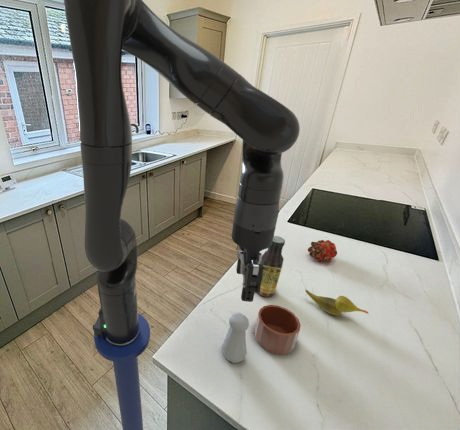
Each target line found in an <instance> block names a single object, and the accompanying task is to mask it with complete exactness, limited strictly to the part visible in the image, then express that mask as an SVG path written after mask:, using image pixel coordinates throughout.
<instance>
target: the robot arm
mask: <svg viewBox="0 0 460 430" xmlns="http://www.w3.org/2000/svg"><path fill="white" fill-rule="evenodd" d="M63 7H64V14H65V21H66V27H67V32H68V38H69V43H70V50H71V55H72V56H71V57H72V61H73V67H74V76H75V87H76V101H77V103H76V104H77V113H78V129H79V146H80V157H81V167H82V176H83V179H82V180H83V193H84V205H85V208H84V209H85V220H84V221H85V222H84V252H85V255H86V258H87V261H88V262H89V263H90V265H91V266H92V267H93V268H94V269H96V270H97V273H96V285H97V291H98V298H99V305H100V307H99V310H98V312H97V313H98V316H97V319H96V321H95V323H94V324H93V325H92V330H93V336H94V335H98V336H102V338H103V339H106V340H107V342H108V343H110V344H111V345H113V346H116V347H124V346H127V345H130V344H131V343H133V342H134V341H135V340H136V339H137V337H138V335H139V323H138V313H139V312H138V310H139V309H138V297H137V282H136V276H137V275H136V274H137V271H138V242H137V235H136V232H135V229H134V228H133V226H132V225H131V224H130V223H129V222H128V221H127V220H125V219H124V218H121V216H122V208H123V205H124V201H125V197H126V192H127V189H128V185H129V182H130V177H131V171H132V162H133V136H132V135H133V133H132V124H131V118H130V113H129V109H128V103H127V100H126V96H125V92H124V86H123V85H124V84H123V75H122V73H123V72H122V62H123V61H122V59H123V51H124V52H125V53H128V54H129V55H131V56H133V57H135V58H137V59H139V60H140V61H142V62H143V63H145V64H146V65H148V67H150V68H151V69H153V70H154V71H155V72H156V73H158V74H159V75H160V76H161V77H162V78H163V79H165V80H166V81H167V82H168V83H169V85H171V86H172V87H173V88H174V89H175V90H176V91H178V92H179V93H180V94H181V95H182V96H183V97H185V98H186V99H187V100H188V101H190V102H191V103H193V104H194V105H195V106H197V107H198V108H200V109H201V110H202V111H204V112H205V113H207V115H209V116H211V117H212V118H214V119H215V120H217V121H219V122H220V123H222V124H224V125H225V126H226V127H227V128H228V129H229V130H231V131H232V132H233V133H234V134H235V135H237V137H239V138H240V140H242V141H241V142H242V143H241V145H242V146H241V147H242V148H241V149H242V150H241V158H242V159H241V161H242V162H241V173H240V177H239V184H238V192H237V198H236V201H235V206H234V213H233V221H232V229H231V239H232V241H233V243H234V244H236V250H235V251H236V258H237V261H236V262H237V263H236V269H235V272H236V274H238V275H241V276H242V288H241V289H242V290H241V294H240V297H241V301H242V302H248V303H251V302H253V301H254V298H255V293H257V294H258V293H259V292H260V286H261V280H262V275H263V269H264V266H263V264H260V262H261V260H262V255H263V254H262V251H265V250H268V248H269V247H270V246H271V245H272V242H273V237H274V236H275V231H276V228H277V223H278V217H279V211H280V200H281V194H282V190H283V185H284V179H285V178H284V170H283V167H282V155H283V153H285V152H287V151H288V150H290V149H291V148H292V147H293V146H294V145H295V143H296V142H297V141H298V139H299V136H300V130H301V129H300V121H299V119H298V117H297V116H296V114H295V112H293V111H292V110H291V109H290V108H288V107H287V106H285V105H284V104H283V103H281V102H279V101H278V100H277V99H275V98H273V97H272V96H270V95H269V94H267V93H265V92H264V91H262V90H260V89H259V88H257V87H256V86H254V85H253V84H252V83H250V82H249V80H247V79H246V78H245V77H244V76H243V75H242V74H240V73H239V72H238V71H236V70H235V69H234V68H232V67H231V66H230V65H229V64H227V63H226V62H225V61H224V60H222V59H220V57H218V56H216V55H215V54H214V53H212V52H210V51H209V50H207V49H206V48H204V47H202V46H201V45H199V44H198V43H196V42H194V41H193V40H191V39H189V38H188V37H185V36H184V35H183V34H181V33H179V32H178V31H176V30H175V29H174V28H172V27H171V26H170V25H168V24H167V23H166V22H164V20H162V19H161V18H160V17H159V16H158V15H156V14H155V12H154V11H153V10H152V9H151V8H150V7H149V6H148V5H147V4H146V3H145V2H144V1H143V0H63Z"/></svg>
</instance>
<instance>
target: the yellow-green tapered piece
mask: <svg viewBox="0 0 460 430" xmlns="http://www.w3.org/2000/svg"><path fill="white" fill-rule="evenodd" d="M304 290H305V293H306V294H307V295H308V296H309V298H311V300H312V301H313V302H314V303H315V304H316V305H317V306H318V307H319V308H320V309H322V310H323V311H324V312H326V313H327V314H329V315H331V316H340V315H342V313H352V312H362V313H365V314H370V313H369V311H367V310H365V309H362V308H359V307H358V306H356V305H355V304H354V303H353V301H352V300H351V299H349V298H348V297H347V296H345V295H339V296H338V297H336V298H333V297H327V296H319V295H316V294H314V293H312V292H311V291H309V290H308V289H304Z"/></svg>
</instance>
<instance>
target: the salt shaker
mask: <svg viewBox="0 0 460 430" xmlns="http://www.w3.org/2000/svg"><path fill="white" fill-rule="evenodd" d="M228 325H229V328H228V330H227V333H226V334H225V337H224V339H223V342H222V343H221V350H222V353H223V355H224V356H225V359H226V360H227V361H229V362H231V363H232V364H236V363H240V362H242V361H244V360H245V358H246V356H247V354H248V351H247V339H246V331H247V330H248V329H249V326H250V321H249V318H248V317H247V316H246V315H245V314H244V313H241V312H233V313H231V314H230V316H229V318H228Z"/></svg>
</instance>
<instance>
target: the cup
mask: <svg viewBox="0 0 460 430" xmlns="http://www.w3.org/2000/svg"><path fill="white" fill-rule="evenodd" d="M301 327H302V324H301V322H300V319H299V318H298V317H297V316H296V315H295V313H293V311H291V310H289V309H288V308H286V307H283V306H280V305H276V304H267V305H264V306H262V307H260V308H259V311H258V313H257V317H256V323H255V326H254V338H255V340H256V342H257V343H258V345H259V346H260V347H262V348H263V349H264V350H266V351H267V352H269V353H270V354H271V353H272V354H274V355H279V356H285V355H288V354H290V353H292V352H293V351H294V349H295V347H296V344H297V341H298V338H299V335H300V332H301Z"/></svg>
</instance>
